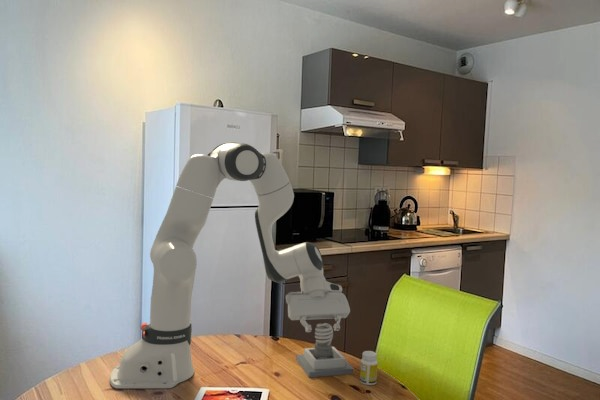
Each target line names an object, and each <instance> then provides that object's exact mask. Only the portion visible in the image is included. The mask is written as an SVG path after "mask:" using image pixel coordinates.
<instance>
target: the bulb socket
mask: <svg viewBox="0 0 600 400" xmlns="http://www.w3.org/2000/svg"><path fill="white" fill-rule="evenodd" d="M295 360H296V361H297V363H298V365H299V366H300V367H301V368H302V369H303V372H304V373H305V374H306V376H307V377H308V378H318V377H319V378H320V377H328V376H331V377H332V376H341V375H350V374H354V367H353V366H352V365H351V364H350V363H348V361H347V359H346V358H345V356H343V354H342V353H341V352H340V351H339V350H338V349H337V348H336V347H335V346H332V351H331V355H330V356H328V357H327V359H320V360H319V356H317V355H316V354H315V347H308V348H307V347H306V348H303V354H296V356H295Z"/></svg>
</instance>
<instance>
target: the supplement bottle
mask: <svg viewBox="0 0 600 400" xmlns="http://www.w3.org/2000/svg"><path fill="white" fill-rule="evenodd" d="M377 355H378V354H377V353H376V352H375V351H372V350H364V351H363V352H362V358H361V359H360V373H359V382H360V383H361V384H363V385H365V386H366V385H367V386H374V385H376V384H377V381H378V364H379V362H378V359H377Z"/></svg>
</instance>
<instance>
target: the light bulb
mask: <svg viewBox="0 0 600 400" xmlns="http://www.w3.org/2000/svg"><path fill="white" fill-rule="evenodd" d="M314 329H315V331H314V338H315V343H314V348H315V354H316V355H317V356H319V360H320V359H327V357H328V356H330V355H331V351H332V347H333V345H332V341H333V338H334V328H333V326H332V325H331V324H330V323H326V322H324V323H317V324H316V327H315V328H314Z"/></svg>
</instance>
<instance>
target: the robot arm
mask: <svg viewBox="0 0 600 400" xmlns="http://www.w3.org/2000/svg"><path fill="white" fill-rule="evenodd" d="M226 179H227V180H228V181H229V180H230V181H239V182H247V181H249V182H250V183H251V184H252V186H253V188H254V191H255V193H256V196H257V198H258V206H257V208H256V209H255V211H254V220H255V221H254V222H255V226H256V227H255V229H256V232H257V236H258V241H259V244H260V249H261V253H262V257H263V263H264V271H265V274H266V277H267V278H268V279H269V280H270V281H272V282H274V283H278V284H281V283H284V282H285V281H288V280H290V279H292V278H295V277H298V279H299V281H300V283H299V285H300V286H299V287H300V291H289V292H288V293H287V294H285V302H286V304H287V316H288V319H290V320H291V321H300V324H301V326H302V327H304V329H305V333H311V332H312V330H313V328H312V325H311V324H309V323H308V322H307V321H308V320H310V321H311V320H327V319H328V320H331V319H332V320H333V319H334V320H335V323H334V324H333V326H332V328H333V332H334V331H335V332H336V331H340V330H341V325H340V323H341V319H346V318H347V317H348V316H349V314H350V313H351V308H350V304H349V301H348V299H347V297H346V295H345V294H344V293H342V292H343V287H342V285H340V284H335V283H332V282H329V281H327V280H326V277H325V276H324V261H323V257H322V252H321V251H320V249H319V248H318V246H317V245H315V244H313V243H312V242H309V241H306V242H302V243H298V244H296V245H292V246H290V247H287V248H284V249H281V250H278V249H277V250H276V248H275V244H274V238H273V235H272V231H271V229H272V226H273V225H274V223H276V222H277V220H279V219H280V218H281V217H283V216H284V215H285V214H286V213H287V212H288V211H289V210H290V209H291V207H292V205H293V203H294V198H295V193H294V189H293V186H292V183H291V181H290V179H289V176H288V174H287V172H286V169H285V168H284V166H283V165H282V163H281V161H280V160H279V158H278V157H277V156H276V154H274V153H272V152H260V151H258V150H257V148H255V146H252V145H251V144H248V143H244V142H243V143H240V142H234V141H233V142H227V143H221V144H219V145H217V146H216V147H214V148H213V149H212V150H211V151H210V152H209V153H208V154H204V153H203V154H202V153H200V154H199V153H197V154H193V155H192V156H190V157H189V158H188V160H187V161H186V163H185V165H184V167H183V168H182V170H181V173H180V174H179V177H178V179H177V182H176V185H175V188H174V191H173V193H172V196H171V199H170V202H169V205H168V208H167V211H166V214H165V216H164V217H163V220H162V221H161V225H160V227H159V228H158V231H157V233H156V236H155V239H154V241H153V242H152V243H153V244H152V246H151V248H150V252H149V257H150V261H151V263H152V265H153V277H152V278H153V279H152V288H151V296H150V309H149V310H150V312H149V314H150V315H149V324H148V323H147V322H142V324H141V326H140V330H141V338H140V339H139V340H138V341H136V342H135V343H134V344H132V345H131V346H129V347H128V348H126V350H124V352H123V353H122V356H121V358H120V362H119V364H118V365H116V366H115V367H114V368H113V369H112V370H111V372H110V377H109V383H110V385H111V386H112V388H114V389H172V388H174V387H175V386H177V385H178V384H180V383H182V382H185V381H187V380H188V379H191V377H193V375H194V374H195V368H194V365H193V360H192V352H191V351H192V350H191V344H192V343H191V342H192V337H193V328H192V327H193V326H192V322H191V309H192V295H193V288H194V283H195V276H196V269H197V255H196V252H195V250H194V249H193V247H194V245H195V242H196V240H197V238H198V236H199V234H200V232H201V230H202V229H203V228H204V226H205V225H206V221H207V220H208V216H209V213H210V210H211V207H212V204H213V201H214V198H215V194H216V191H217V188H218V187H219V185H220V183H221V182H222V181H224V180H226ZM306 320H307V321H306Z"/></svg>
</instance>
